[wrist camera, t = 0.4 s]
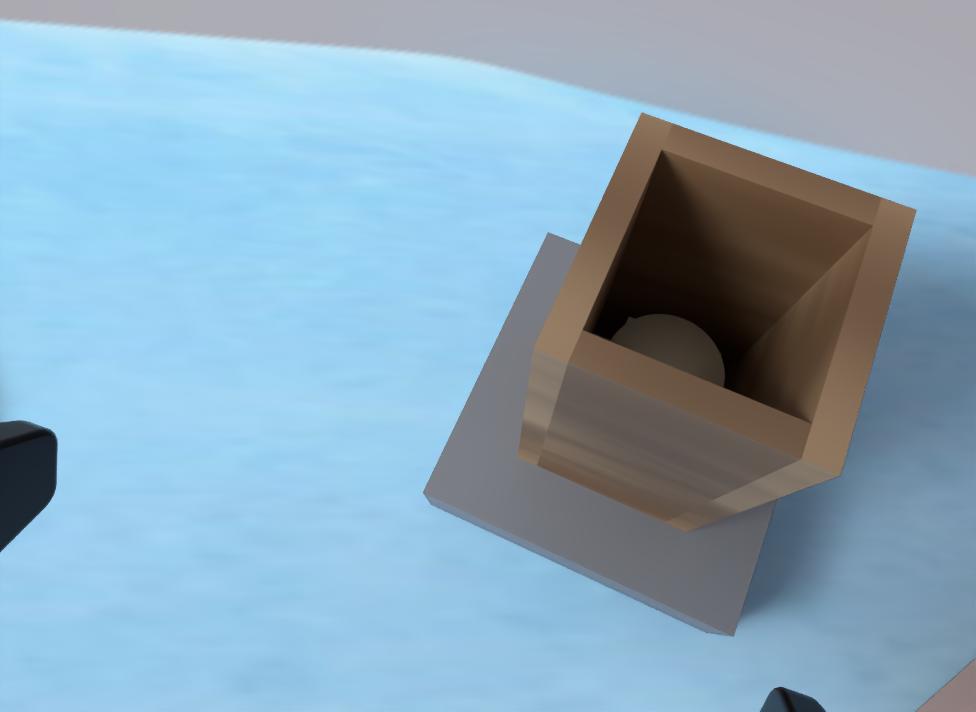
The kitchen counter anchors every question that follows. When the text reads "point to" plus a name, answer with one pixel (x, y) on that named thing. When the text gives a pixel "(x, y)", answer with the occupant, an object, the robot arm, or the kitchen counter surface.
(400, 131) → the kitchen counter surface
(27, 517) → the robot arm
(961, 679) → the terracotta tray
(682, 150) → the walnut sleeve
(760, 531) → the block
